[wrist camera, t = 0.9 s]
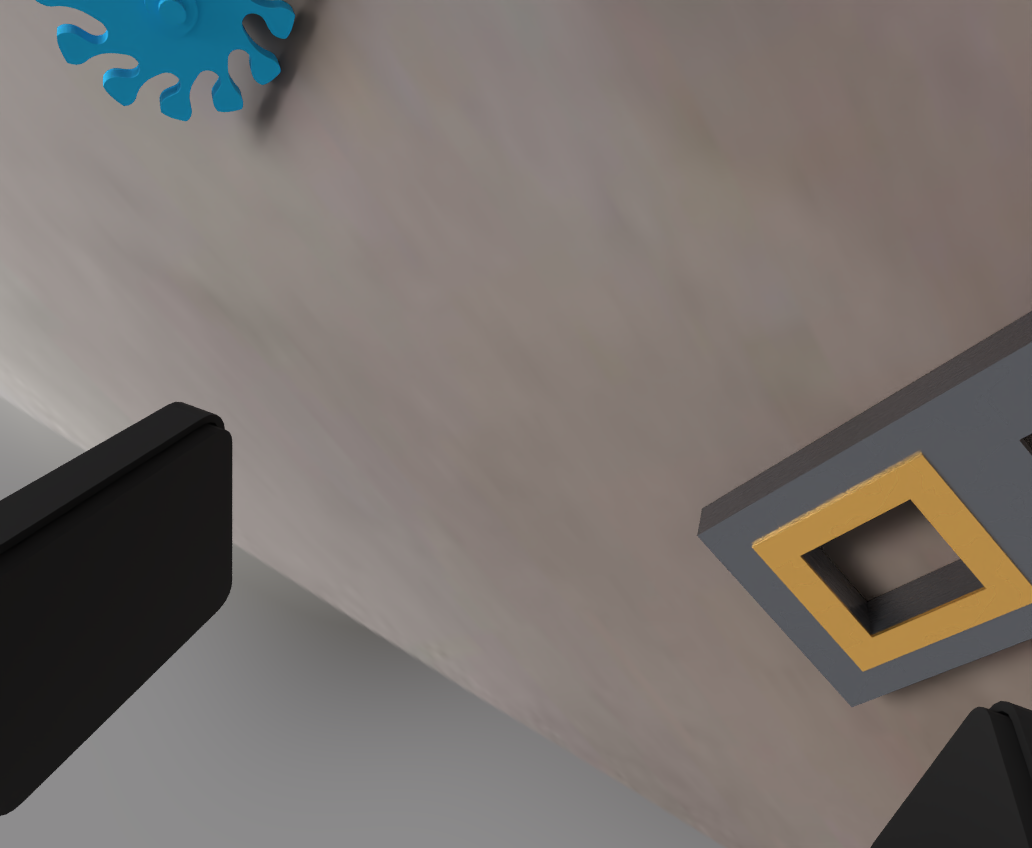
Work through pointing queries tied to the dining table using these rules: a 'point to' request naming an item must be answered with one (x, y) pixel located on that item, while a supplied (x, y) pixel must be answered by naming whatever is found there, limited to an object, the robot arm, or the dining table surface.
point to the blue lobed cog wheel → (175, 45)
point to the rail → (880, 487)
